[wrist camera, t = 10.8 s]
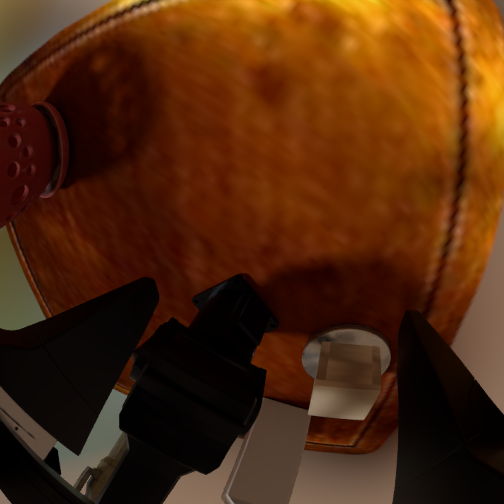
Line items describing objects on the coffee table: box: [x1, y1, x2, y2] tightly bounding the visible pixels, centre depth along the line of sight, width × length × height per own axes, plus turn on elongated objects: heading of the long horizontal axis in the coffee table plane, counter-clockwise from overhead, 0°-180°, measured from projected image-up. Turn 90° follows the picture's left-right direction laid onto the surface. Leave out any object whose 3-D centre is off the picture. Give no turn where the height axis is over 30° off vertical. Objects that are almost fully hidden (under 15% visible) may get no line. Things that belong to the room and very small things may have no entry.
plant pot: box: [0, 101, 69, 228], centre depth 18 cm, size 13×13×12 cm
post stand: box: [302, 324, 391, 379], centre depth 23 cm, size 9×9×4 cm
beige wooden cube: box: [308, 341, 381, 420], centre depth 22 cm, size 6×6×5 cm
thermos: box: [73, 432, 127, 503], centre depth 26 cm, size 9×12×35 cm
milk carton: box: [221, 397, 311, 504], centre depth 27 cm, size 7×7×19 cm
